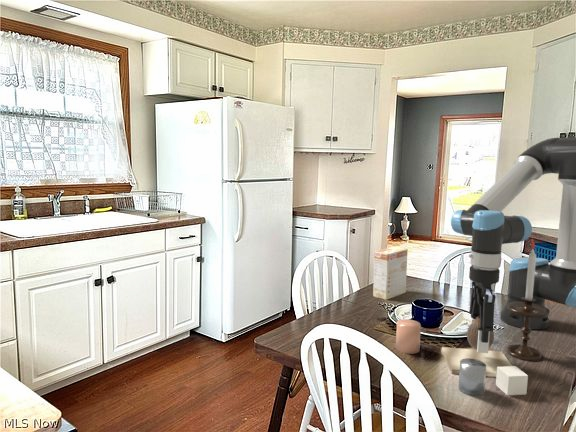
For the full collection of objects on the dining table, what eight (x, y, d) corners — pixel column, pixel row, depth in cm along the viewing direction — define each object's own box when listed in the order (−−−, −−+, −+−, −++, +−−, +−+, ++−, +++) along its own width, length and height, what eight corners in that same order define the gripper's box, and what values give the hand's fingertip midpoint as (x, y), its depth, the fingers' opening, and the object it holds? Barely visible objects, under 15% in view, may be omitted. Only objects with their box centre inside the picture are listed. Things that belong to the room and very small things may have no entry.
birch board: (501, 355, 128) (501, 351, 128) (518, 378, 115) (519, 374, 115) (441, 350, 131) (441, 347, 131) (451, 373, 117) (452, 369, 117)
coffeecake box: (392, 289, 193) (394, 246, 190) (406, 292, 187) (408, 248, 185) (372, 296, 182) (373, 250, 180) (386, 300, 177) (388, 253, 175)
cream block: (513, 384, 112) (515, 366, 112) (526, 394, 107) (528, 375, 107) (495, 385, 112) (497, 366, 111) (507, 395, 107) (508, 376, 106)
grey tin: (480, 385, 111) (482, 359, 111) (487, 397, 106) (489, 370, 105) (456, 383, 112) (457, 357, 111) (461, 395, 106) (463, 368, 106)
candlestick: (497, 345, 135) (506, 235, 130) (532, 346, 135) (542, 235, 130) (514, 362, 124) (524, 242, 119) (552, 363, 124) (564, 242, 119)
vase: (461, 342, 125) (463, 313, 124) (484, 342, 126) (486, 313, 125) (473, 353, 118) (476, 322, 117) (498, 352, 119) (500, 321, 118)
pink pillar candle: (417, 344, 135) (419, 320, 134) (421, 354, 128) (422, 328, 127) (394, 343, 136) (395, 318, 135) (396, 352, 130) (398, 327, 128)
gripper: (461, 258, 129) (456, 331, 132) (480, 275, 110) (474, 361, 113) (488, 259, 128) (482, 333, 131) (512, 277, 109) (504, 363, 112)
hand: (478, 346), depth 122 cm, fingers closed on vase, 7 cm apart
